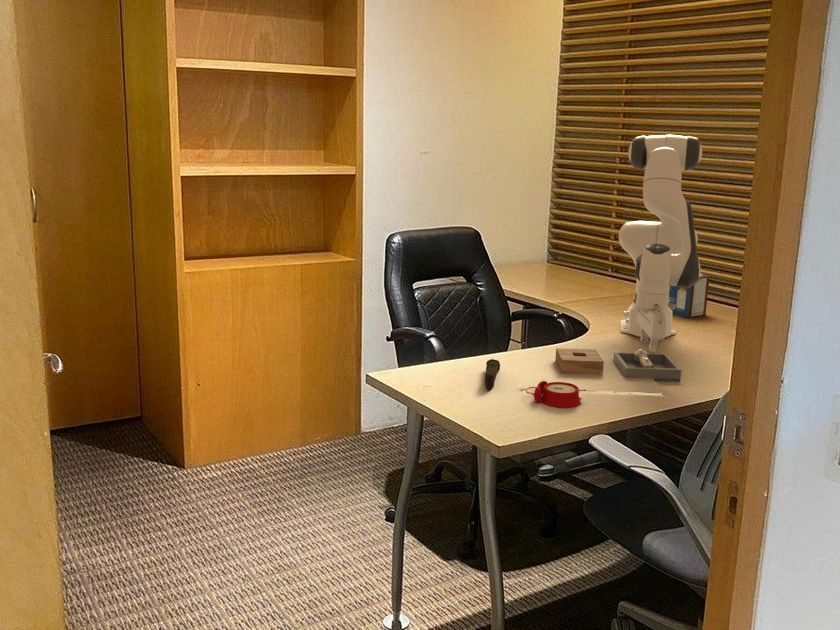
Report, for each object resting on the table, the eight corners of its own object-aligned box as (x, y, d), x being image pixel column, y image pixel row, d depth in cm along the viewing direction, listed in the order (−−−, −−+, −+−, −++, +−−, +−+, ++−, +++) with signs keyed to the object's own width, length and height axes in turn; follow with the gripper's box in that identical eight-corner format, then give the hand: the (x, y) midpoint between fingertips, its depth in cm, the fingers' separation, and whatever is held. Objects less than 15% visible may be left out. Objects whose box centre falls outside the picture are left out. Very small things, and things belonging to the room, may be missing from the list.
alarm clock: (582, 398, 211) (527, 378, 215) (575, 420, 213) (520, 399, 217) (588, 386, 220) (535, 367, 224) (581, 406, 222) (529, 387, 226)
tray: (612, 362, 253) (613, 352, 252) (665, 364, 253) (666, 353, 252) (624, 379, 237) (625, 368, 236) (680, 381, 237) (681, 369, 236)
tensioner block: (555, 363, 251) (556, 348, 250) (594, 364, 251) (595, 349, 250) (561, 375, 239) (562, 360, 238) (602, 377, 239) (603, 361, 238)
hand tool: (486, 371, 243) (486, 355, 242) (499, 372, 242) (500, 357, 241) (478, 392, 225) (478, 375, 224) (492, 393, 224) (493, 377, 223)
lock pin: (640, 374, 242) (632, 362, 251) (655, 374, 242) (646, 362, 251) (641, 360, 241) (633, 349, 249) (656, 360, 241) (648, 349, 249)
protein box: (674, 306, 328) (678, 268, 324) (706, 315, 316) (710, 275, 312) (656, 309, 323) (660, 270, 319) (687, 318, 310) (692, 277, 306)
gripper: (673, 309, 229) (668, 357, 233) (654, 293, 249) (650, 337, 253) (650, 309, 229) (646, 356, 233) (633, 292, 249) (629, 336, 253)
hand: (648, 346), depth 243 cm, fingers open, 8 cm apart
